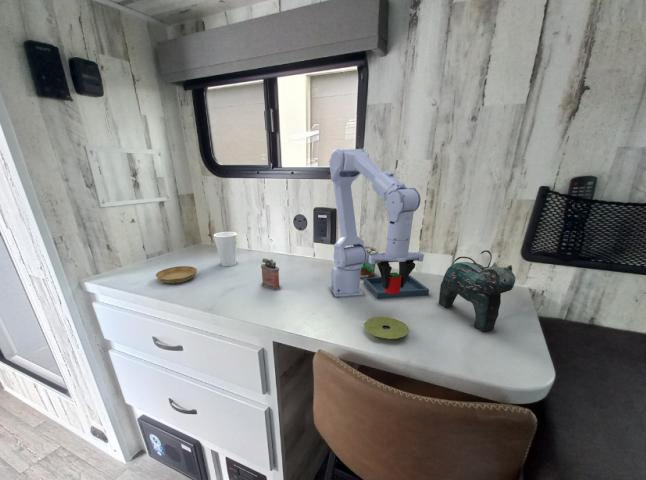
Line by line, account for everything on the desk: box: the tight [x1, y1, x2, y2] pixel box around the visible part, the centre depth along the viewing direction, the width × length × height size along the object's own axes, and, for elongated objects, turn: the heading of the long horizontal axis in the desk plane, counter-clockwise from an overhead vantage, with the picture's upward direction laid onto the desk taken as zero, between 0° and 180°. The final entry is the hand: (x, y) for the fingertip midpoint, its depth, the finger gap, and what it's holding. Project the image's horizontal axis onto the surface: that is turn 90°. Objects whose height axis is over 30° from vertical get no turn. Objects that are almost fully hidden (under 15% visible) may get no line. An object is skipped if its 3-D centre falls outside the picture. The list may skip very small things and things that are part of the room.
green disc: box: [363, 316, 410, 340], centre depth 79 cm, size 11×11×2 cm
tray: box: [363, 274, 430, 300], centre depth 105 cm, size 18×14×2 cm
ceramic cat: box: [438, 249, 516, 333], centre depth 83 cm, size 20×6×20 cm, turn 17°
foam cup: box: [213, 231, 238, 267], centre depth 131 cm, size 10×9×13 cm
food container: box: [360, 245, 379, 280], centre depth 117 cm, size 12×6×10 cm, turn 168°
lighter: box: [260, 257, 281, 291], centre depth 107 cm, size 8×3×10 cm, turn 47°
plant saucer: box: [155, 265, 198, 284], centre depth 117 cm, size 15×15×3 cm
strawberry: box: [385, 272, 402, 294], centre depth 84 cm, size 4×4×5 cm
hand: (392, 287), depth 85 cm, fingers closed on strawberry, 4 cm apart
